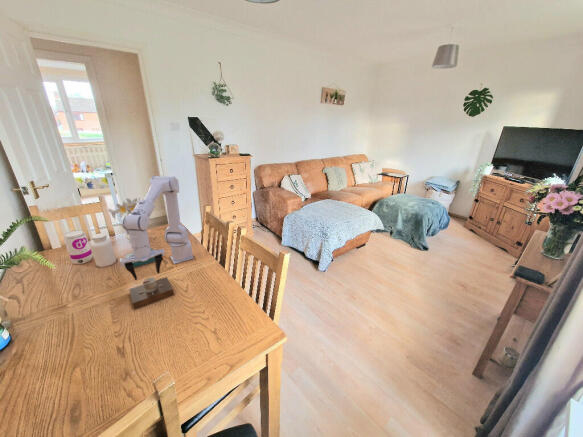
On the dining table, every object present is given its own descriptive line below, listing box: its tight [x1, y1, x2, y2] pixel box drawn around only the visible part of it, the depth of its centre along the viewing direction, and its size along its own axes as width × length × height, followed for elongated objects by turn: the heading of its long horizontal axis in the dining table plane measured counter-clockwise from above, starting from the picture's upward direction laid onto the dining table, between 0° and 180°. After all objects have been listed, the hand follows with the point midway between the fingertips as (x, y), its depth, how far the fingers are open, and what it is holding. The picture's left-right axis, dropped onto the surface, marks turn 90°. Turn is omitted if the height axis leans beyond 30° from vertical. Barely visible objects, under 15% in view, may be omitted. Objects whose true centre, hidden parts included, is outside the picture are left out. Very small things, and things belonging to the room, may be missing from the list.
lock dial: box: [142, 277, 157, 293], centre depth 96 cm, size 4×4×4 cm
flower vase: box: [106, 197, 142, 241], centre depth 133 cm, size 13×18×25 cm
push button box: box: [125, 247, 155, 268], centre depth 119 cm, size 12×10×4 cm
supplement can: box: [62, 229, 94, 265], centre depth 115 cm, size 8×8×15 cm
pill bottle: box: [89, 232, 117, 268], centre depth 114 cm, size 8×8×15 cm
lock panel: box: [128, 276, 175, 310], centre depth 97 cm, size 14×10×3 cm
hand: (147, 275), depth 94 cm, fingers open, 7 cm apart
